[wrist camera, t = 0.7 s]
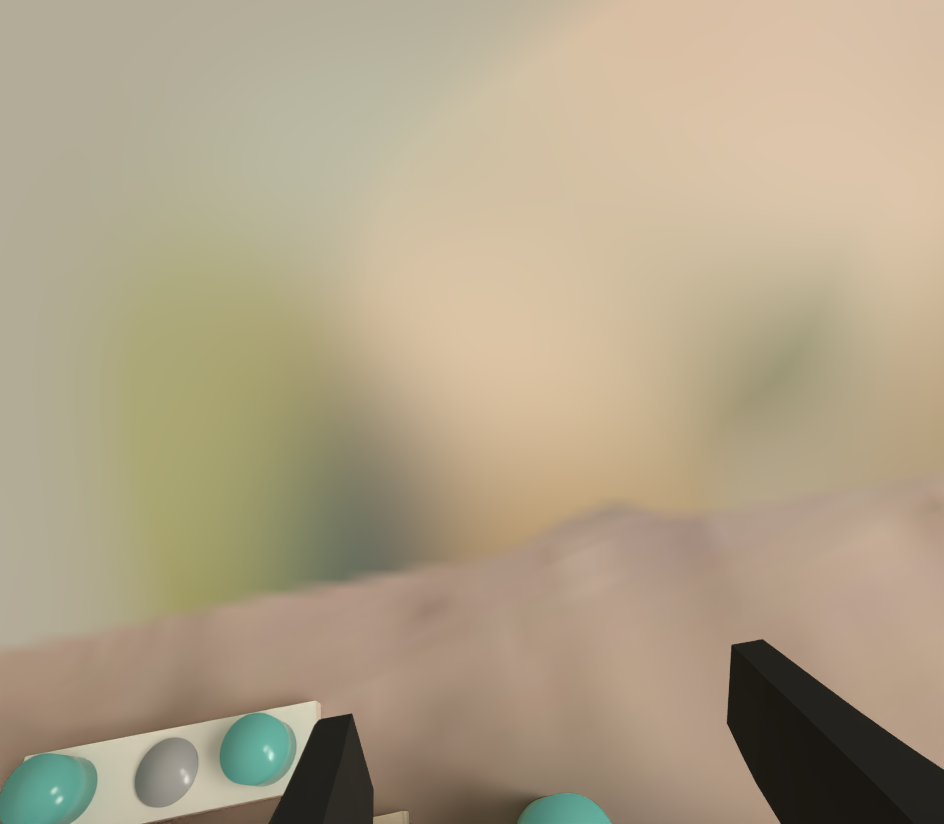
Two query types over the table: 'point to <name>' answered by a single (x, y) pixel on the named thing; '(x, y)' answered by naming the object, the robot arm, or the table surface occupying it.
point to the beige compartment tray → (393, 818)
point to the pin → (563, 811)
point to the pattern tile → (162, 771)
